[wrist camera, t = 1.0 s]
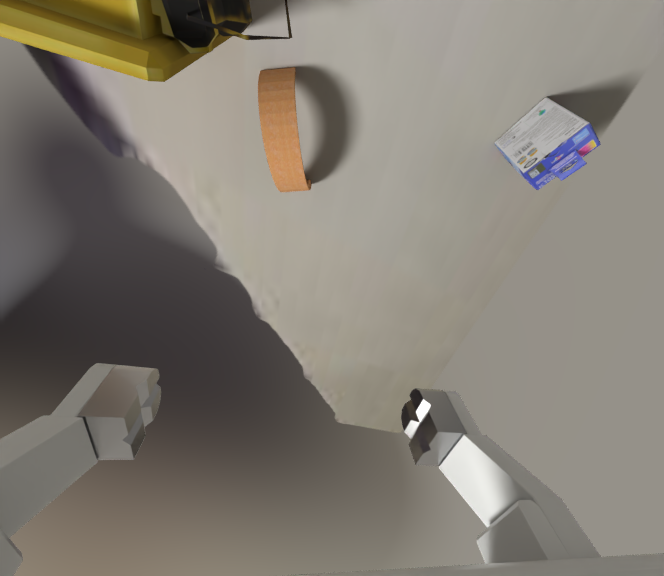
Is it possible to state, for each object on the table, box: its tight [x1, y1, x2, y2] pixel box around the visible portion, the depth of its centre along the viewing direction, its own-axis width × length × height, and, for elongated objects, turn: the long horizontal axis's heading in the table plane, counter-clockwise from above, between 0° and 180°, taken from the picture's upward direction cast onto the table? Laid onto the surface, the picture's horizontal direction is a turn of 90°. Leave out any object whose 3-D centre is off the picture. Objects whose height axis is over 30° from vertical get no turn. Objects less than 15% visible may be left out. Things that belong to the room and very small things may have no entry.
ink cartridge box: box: [495, 97, 600, 190], centre depth 48 cm, size 10×6×14 cm, turn 143°
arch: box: [258, 67, 311, 192], centre depth 49 cm, size 6×20×10 cm, turn 4°
